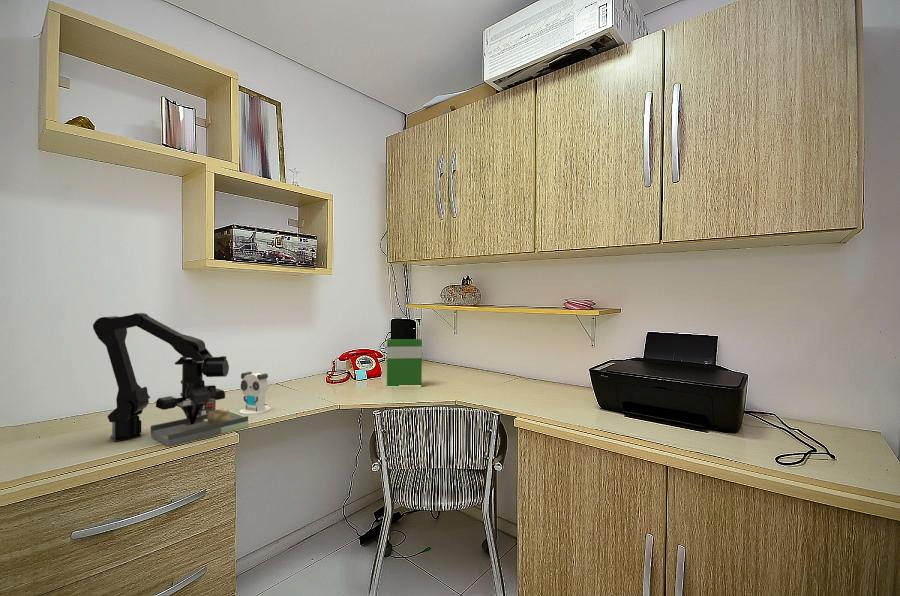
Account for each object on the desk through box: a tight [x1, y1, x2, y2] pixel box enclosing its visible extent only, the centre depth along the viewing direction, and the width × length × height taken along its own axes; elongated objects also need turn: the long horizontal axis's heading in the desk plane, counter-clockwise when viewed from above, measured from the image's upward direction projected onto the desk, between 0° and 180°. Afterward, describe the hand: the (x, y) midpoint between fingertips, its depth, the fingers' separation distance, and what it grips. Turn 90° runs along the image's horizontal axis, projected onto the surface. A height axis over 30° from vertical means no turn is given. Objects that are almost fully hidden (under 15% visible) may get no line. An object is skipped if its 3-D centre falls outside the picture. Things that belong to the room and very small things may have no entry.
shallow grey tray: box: [150, 409, 249, 448], centre depth 134 cm, size 24×15×4 cm, turn 144°
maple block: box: [208, 408, 230, 424], centre depth 138 cm, size 5×5×4 cm
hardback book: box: [386, 338, 423, 387], centre depth 206 cm, size 18×7×24 cm, turn 98°
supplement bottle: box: [197, 385, 217, 416], centre depth 152 cm, size 6×6×11 cm
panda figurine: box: [238, 371, 271, 415], centre depth 160 cm, size 12×11×15 cm
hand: (191, 424), depth 131 cm, fingers closed
